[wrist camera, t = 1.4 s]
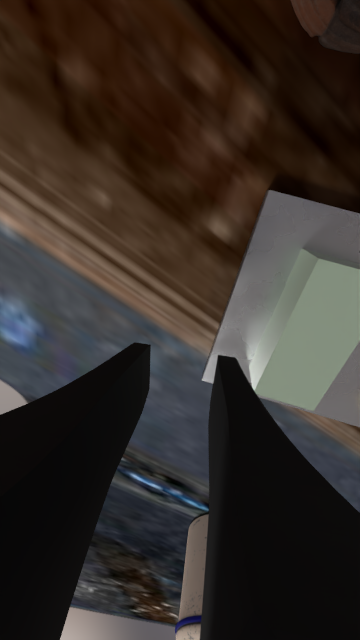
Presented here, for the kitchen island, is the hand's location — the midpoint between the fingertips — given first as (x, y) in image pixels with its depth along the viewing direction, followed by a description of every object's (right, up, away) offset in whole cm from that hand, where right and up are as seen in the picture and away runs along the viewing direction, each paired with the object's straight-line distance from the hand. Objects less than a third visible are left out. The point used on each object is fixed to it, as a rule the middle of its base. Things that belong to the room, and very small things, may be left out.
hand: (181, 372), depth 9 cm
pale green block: (+8, +2, +8) cm, 11 cm away
